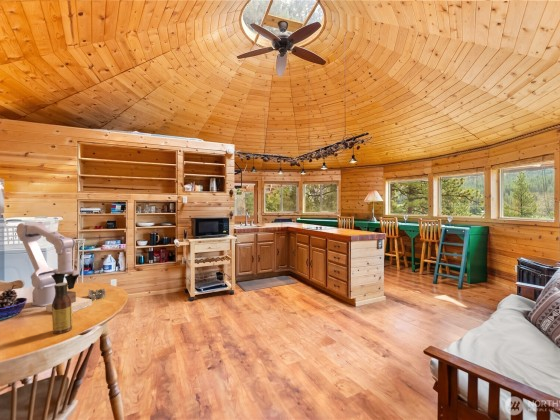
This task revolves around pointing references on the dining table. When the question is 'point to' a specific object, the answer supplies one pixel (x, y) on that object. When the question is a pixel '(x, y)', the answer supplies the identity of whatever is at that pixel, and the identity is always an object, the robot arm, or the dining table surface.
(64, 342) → the dining table surface
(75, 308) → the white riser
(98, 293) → the egg carton
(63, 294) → the sauce bottle
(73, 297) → the walnut cube
